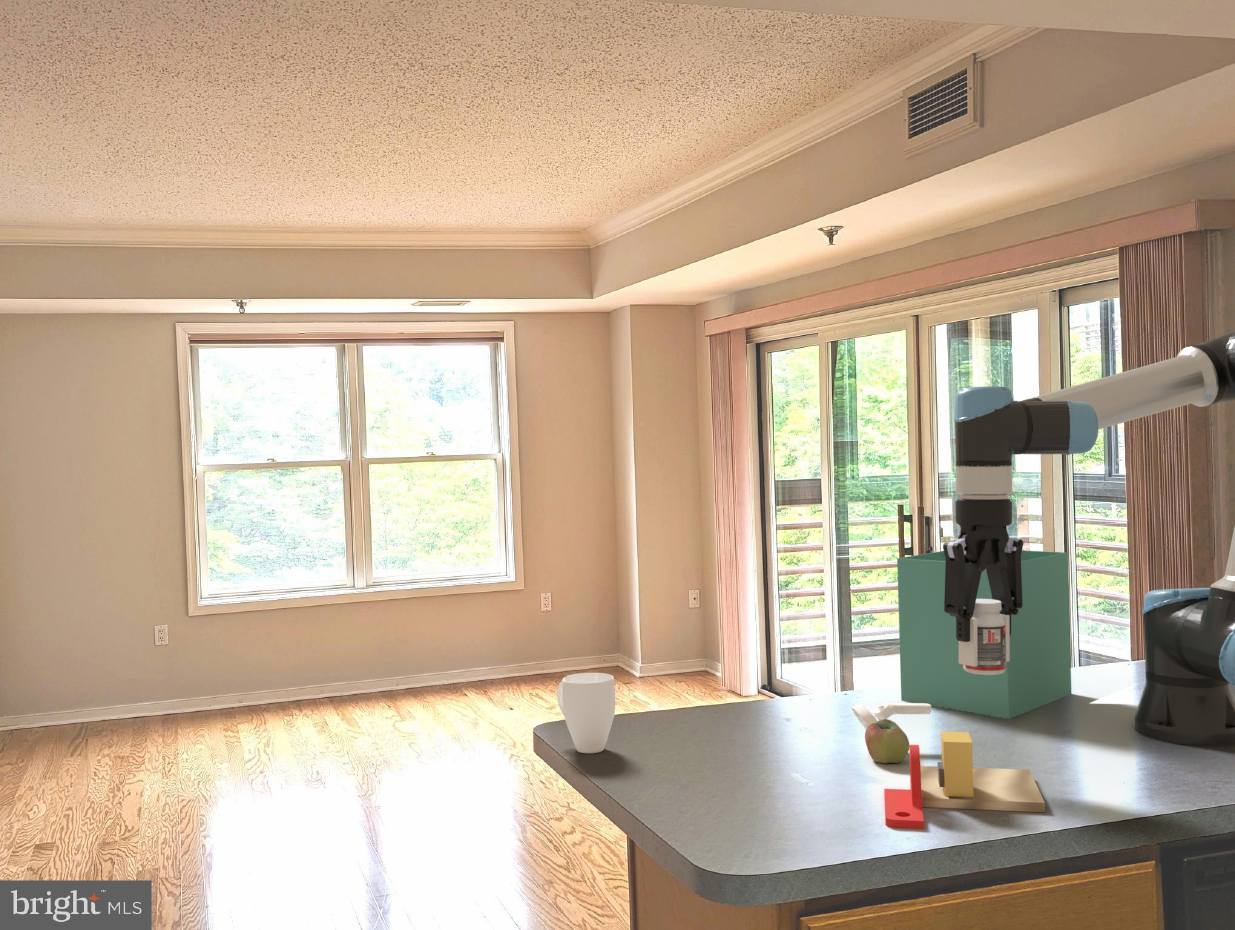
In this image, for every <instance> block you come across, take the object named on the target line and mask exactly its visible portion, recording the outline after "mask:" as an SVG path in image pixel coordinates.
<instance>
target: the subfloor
mask: <svg viewBox="0 0 1235 930" xmlns="http://www.w3.org/2000/svg"><path fill="white" fill-rule="evenodd" d="M920 767H921V797H922V808H935V809H936V808H937V809H938V808H940V809H958V810H959V809H960V810H961V809H962V810H963V809H964V810H980V811H981V810H983V811H1007V812H1008V811H1009V812H1025V813H1026V812H1029V813H1030V812H1033V813H1046V802H1045V800H1044V798H1043V796H1042V793H1041V791H1040V789H1039V787H1038V785H1037V783H1036V781H1035V779H1034V777H1033V775H1032V772H1031V771H1030V769H1019V768H1018V769H1017V768H990V767H989V768H985V767H973V792H974V797H959V796H945V793H944V789H943V787H939V782H938V765H937V766H933V765H920Z"/></svg>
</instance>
